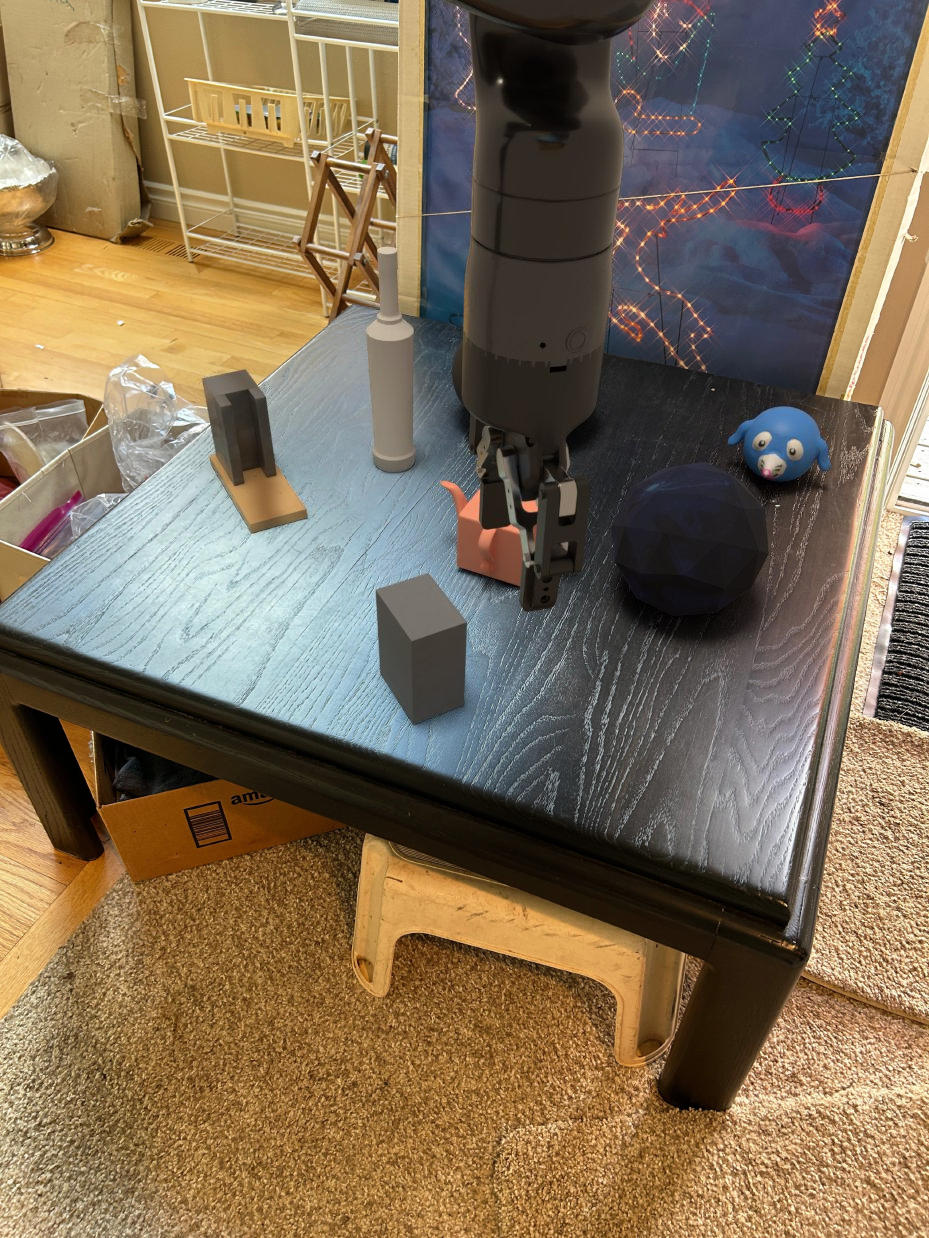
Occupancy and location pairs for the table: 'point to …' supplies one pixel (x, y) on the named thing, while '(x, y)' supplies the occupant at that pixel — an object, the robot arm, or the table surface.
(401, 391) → the bottle
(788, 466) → the blue mole toy
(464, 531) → the teapot
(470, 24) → the robot arm
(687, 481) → the decorative orb
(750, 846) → the table surface
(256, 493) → the stand
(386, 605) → the grey rectangular block
